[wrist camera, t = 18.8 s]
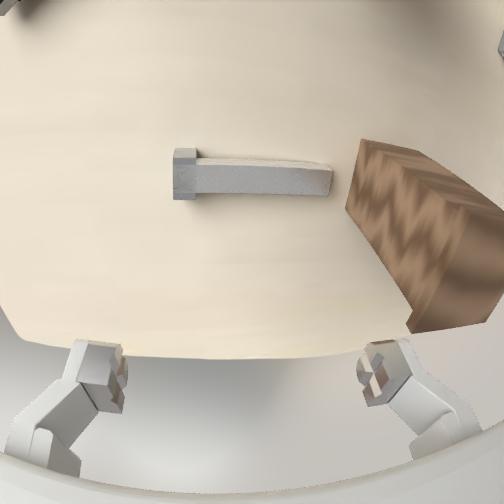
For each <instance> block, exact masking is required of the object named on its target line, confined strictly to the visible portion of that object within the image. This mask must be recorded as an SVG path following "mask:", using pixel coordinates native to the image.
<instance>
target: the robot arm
mask: <svg viewBox="0 0 504 504" xmlns="http://www.w3.org/2000/svg"><path fill="white" fill-rule="evenodd" d="M122 352H123V350H122V347H121V344H115V343H106V342H99V341H91V340H84V339H76V341H75V342H74V343H73V346H72V349H71V352H70V355H69V358H68V361H67V364H66V367H65V370H64V373H63V376H62V379H57V380H56V381H55V382H53V383H52V384H51V385H50V386H49V387H48V388H47V389H46V390H44V391H43V392H42V393H41V394H40V395H39V396H38V397H37V398H35V399H34V400H33V401H32V402H31V403H30V404H29V405H28V406H26V407H25V408H24V409H23V410H22V411H21V412H20V413H19V414H18V415H17V416H15V417H14V419H13V421H12V425H11V428H10V432H9V435H8V439H7V443H6V447H5V452H4V453H2V452H0V504H504V420H503V421H501V422H499V423H497V424H496V425H494V426H492V427H490V428H488V429H486V430H484V431H482V429H481V427H480V425H479V422H478V420H477V418H476V416H475V413H474V411H473V409H472V407H471V405H470V404H469V403H468V402H467V401H465V400H464V399H463V398H461V397H460V396H459V395H457V394H456V393H455V392H453V391H452V390H451V389H449V388H448V387H447V386H445V385H444V384H443V383H441V382H440V381H439V380H437V379H436V378H435V377H433V376H432V375H431V374H429V373H428V372H427V373H425V372H424V370H423V368H422V366H421V364H420V362H419V360H418V358H417V356H416V354H415V352H414V350H413V348H412V346H411V344H410V342H409V341H408V340H407V339H397V340H386V341H378V342H370V343H369V344H367V346H366V347H365V352H366V353H365V354H364V355H362V356H361V357H360V358H359V360H358V363H357V369H356V371H357V377H358V380H359V382H360V383H362V384H363V385H364V386H365V387H364V389H363V394H364V397H365V400H366V403H367V406H368V407H370V406H376V405H382V404H387V403H388V406H389V407H390V408H391V409H392V410H393V411H394V412H395V413H396V414H397V415H398V416H399V417H400V418H401V419H402V420H403V421H404V422H405V423H406V424H407V425H408V426H409V427H410V428H411V429H412V430H413V431H414V432H415V433H416V434H417V435H418V436H419V437H418V438H416V439H415V440H414V441H413V442H411V443H410V445H409V448H410V451H411V454H412V457H413V460H414V461H411V462H408V463H405V464H402V465H399V466H396V467H393V468H389V469H386V470H383V471H379V472H376V473H372V474H368V475H364V476H360V477H356V478H352V479H347V480H343V481H338V482H333V483H328V484H322V485H316V486H310V487H303V488H296V489H288V490H281V491H269V492H258V493H257V492H256V493H236V494H196V493H175V492H162V491H153V490H144V489H136V488H129V487H123V486H117V485H111V484H106V483H100V482H96V481H91V480H87V479H82V478H79V476H80V467H81V460H80V458H79V457H78V456H77V455H75V454H74V453H73V452H72V451H71V450H70V449H69V448H70V446H71V445H72V444H73V443H74V442H75V440H76V439H77V438H78V436H79V435H80V434H81V433H82V432H83V431H84V429H85V428H86V427H87V426H88V425H89V423H90V422H91V421H92V420H93V419H94V417H95V416H96V415H97V414H98V411H102V412H110V413H120V414H122V410H123V404H124V398H125V397H124V394H123V392H122V389H123V388H124V387H125V386H126V385H127V380H128V366H127V362H126V359H125V358H124V357H123V356H122Z"/></svg>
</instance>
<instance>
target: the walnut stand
mask: <svg viewBox="0 0 504 504" xmlns="http://www.w3.org/2000/svg"><path fill="white" fill-rule="evenodd" d="M345 210H346V211H347V212H348V214H349V215H350V216H351V218H352V219H353V220H354V222H355V223H356V225H357V226H358V227H359V229H360V230H361V232H362V233H363V234H364V236H365V237H366V239H367V240H368V242H369V243H370V245H371V246H372V247H373V249H374V250H375V252H376V253H377V255H378V256H379V258H380V259H381V261H382V262H383V264H384V265H385V267H386V268H387V270H388V271H389V273H390V274H391V276H392V277H393V279H394V281H395V282H396V284H397V285H398V287H399V288H400V290H401V292H402V293H403V295H404V296H405V298H406V300H407V301H408V303H409V305H410V306H411V308H412V310H413V312H412V313H411V315H410V317H409V319H408V321H407V322H406V325H407V327H408V329H409V330H410V332H411V334H415V333H422V332H429V331H436V330H443V329H450V328H456V327H462V326H467V325H473V324H479V323H484V322H486V320H487V319H488V317H489V316H490V314H491V313H492V311H493V310H494V308H495V307H496V305H497V303H498V302H499V300H500V298H501V297H502V295H503V293H504V211H503V210H502V209H501V208H499V207H498V206H497V205H496V204H494V203H493V202H492V201H490V200H489V199H488V198H487V197H485V196H484V195H483V194H481V193H480V192H479V191H477V190H476V189H475V188H473V187H472V186H470V185H469V184H468V183H466V182H465V181H463V180H462V179H460V178H459V177H458V176H456V175H455V174H453V173H452V172H450V171H449V170H447V169H446V168H444V167H443V166H441V165H440V164H438V163H437V162H435V161H433V160H432V159H430V158H429V157H427V156H425V155H424V154H422V153H420V152H419V151H416V150H412V149H408V148H403V147H399V146H394V145H390V144H385V143H380V142H375V141H370V140H365V139H361V142H360V147H359V152H358V156H357V161H356V165H355V170H354V174H353V178H352V183H351V187H350V191H349V195H348V199H347V203H346V207H345Z"/></svg>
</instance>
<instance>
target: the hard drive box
mask: <svg viewBox="0 0 504 504" xmlns="http://www.w3.org/2000/svg"><path fill="white" fill-rule="evenodd" d="M498 51H499V52H500V54H501V55H502V56H503V57H504V33H503V36H502V39H501V43H500V46H499V49H498Z"/></svg>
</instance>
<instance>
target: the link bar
mask: <svg viewBox="0 0 504 504" xmlns="http://www.w3.org/2000/svg"><path fill="white" fill-rule="evenodd" d="M332 175H333V170H332V169H331V168H330V167H329V166H327V165H326V164H321V163H309V162H296V161H280V160H260V159H232V158H196V149H175V151H174V155H173V200H195V193H258V194H292V195H316V196H328V194H329V189H330V185H331V180H332Z"/></svg>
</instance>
